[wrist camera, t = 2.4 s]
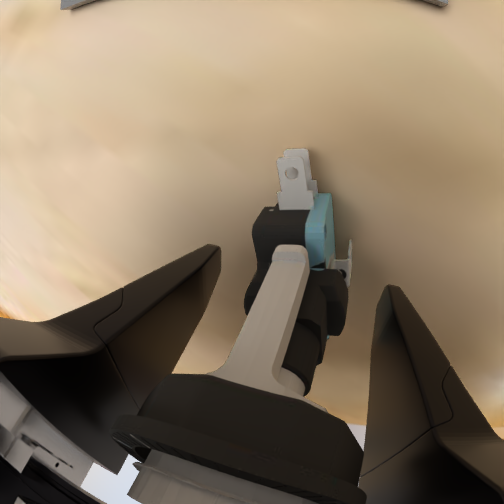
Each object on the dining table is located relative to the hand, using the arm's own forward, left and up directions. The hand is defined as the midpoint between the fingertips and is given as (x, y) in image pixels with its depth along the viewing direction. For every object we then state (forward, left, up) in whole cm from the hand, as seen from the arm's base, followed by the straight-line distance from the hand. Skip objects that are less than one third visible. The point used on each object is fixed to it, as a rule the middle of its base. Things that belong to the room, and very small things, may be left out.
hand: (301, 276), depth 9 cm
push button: (0, 0, -3) cm, 3 cm away
